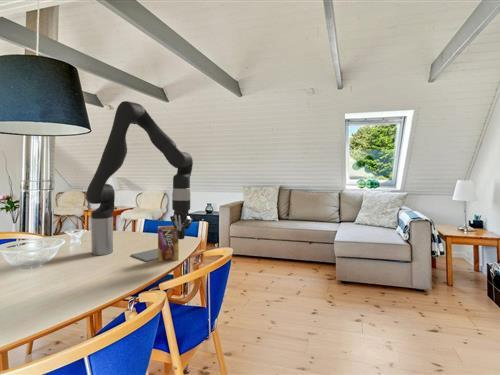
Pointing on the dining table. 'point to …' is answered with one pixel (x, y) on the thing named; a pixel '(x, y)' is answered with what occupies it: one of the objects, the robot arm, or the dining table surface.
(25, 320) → the dining table surface
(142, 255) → the rubber mat
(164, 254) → the candy box
